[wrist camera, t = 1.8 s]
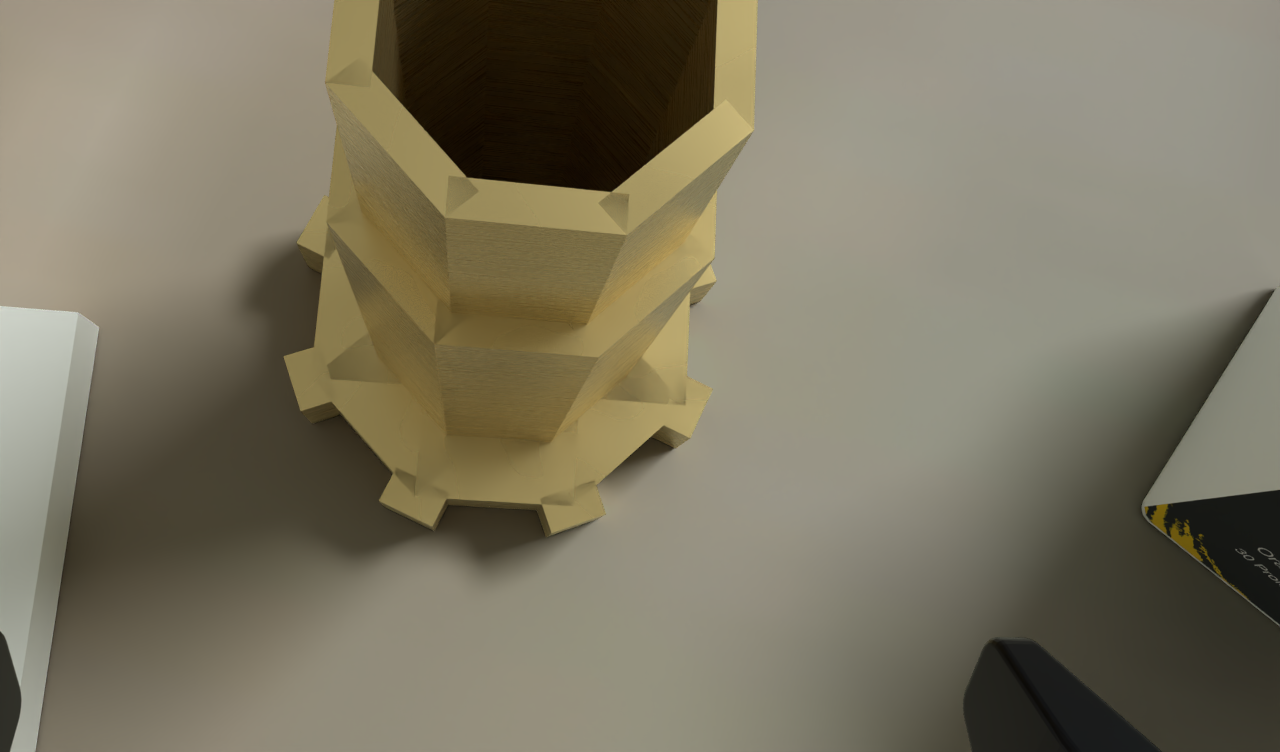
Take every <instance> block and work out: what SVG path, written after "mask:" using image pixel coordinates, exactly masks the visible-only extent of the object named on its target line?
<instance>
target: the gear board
mask: <svg viewBox="0 0 1280 752" xmlns="http://www.w3.org/2000/svg"><path fill="white" fill-rule="evenodd" d="M98 332H99V327H98V326H97V325H95V324H94V323H93V322H91V321H90V320H88V319H87V318H86V317H84V316H83V315H81V314H80V313H79V312H67V311H55V310H42V309H30V308H17V307H5V306H0V632H1V633H2V634H3V635H4V636H5V639H6V641H7V644H8V648H9V651H10V655H11V658H12V661H13V665H14V668H15V672H16V675H17V679H18V682H19V686H20V690H21V699H22V701H21V712H20V717H19V722H18V725H17V729H16V732H15V736H14V739H13V743H12V746H11V750H10V752H35V751H36V744H37V737H38V731H39V724H40V717H41V711H42V704H43V698H44V691H45V684H46V678H47V671H48V664H49V658H50V651H51V644H52V638H53V631H54V625H55V618H56V611H57V605H58V598H59V591H60V585H61V578H62V571H63V565H64V558H65V551H66V545H67V538H68V532H69V525H70V518H71V512H72V505H73V498H74V492H75V485H76V478H77V472H78V465H79V458H80V452H81V445H82V439H83V432H84V425H85V419H86V412H87V405H88V399H89V392H90V385H91V379H92V372H93V365H94V359H95V352H96V346H97V339H98Z"/></svg>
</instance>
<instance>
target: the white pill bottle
mask: <svg viewBox="0 0 1280 752" xmlns="http://www.w3.org/2000/svg"><path fill="white" fill-rule="evenodd" d="M1141 508H1142V513H1143V516H1144V517H1145V519H1146V520H1147V521H1148V522H1149V523H1150V524H1152V525H1153V526H1154V527H1155V528H1157V529H1158V530H1159V531H1160V532H1162V533H1163V534H1164V535H1165V536H1167V537H1168V538H1169V539H1170V540H1172V541H1173V542H1174V543H1176V544H1177V545H1178V546H1179V547H1181V548H1182V549H1183V550H1184V551H1186V552H1187V553H1188V554H1189V555H1191V556H1192V557H1193V558H1194V559H1196V560H1197V561H1198V562H1199V563H1201V564H1202V565H1203V566H1204V567H1206V568H1207V569H1208V570H1209V571H1211V572H1212V573H1213V574H1214V575H1216V576H1217V577H1218V578H1219V579H1221V580H1222V581H1223V582H1224V583H1226V584H1227V585H1228V586H1229V587H1231V588H1232V589H1233V590H1234V591H1236V592H1237V593H1238V594H1239V595H1241V596H1242V597H1243V598H1244V599H1246V600H1247V601H1248V602H1250V603H1251V604H1252V605H1253V606H1255V607H1256V608H1257V609H1258V610H1260V611H1261V612H1262V613H1263V614H1265V615H1266V616H1267V617H1268V618H1270V619H1271V620H1272V621H1273V622H1275V623H1276V624H1277V625H1278V626H1280V285H1279V286H1278V287H1277V288H1276V289H1275V291H1274V293H1273V294H1272V296H1271V297H1270V299H1269V301H1268V302H1267V304H1266V305H1265V307H1264V309H1263V310H1262V312H1261V313H1260V315H1259V317H1258V318H1257V320H1256V321H1255V323H1254V325H1253V326H1252V328H1251V329H1250V331H1249V333H1248V334H1247V336H1246V337H1245V339H1244V341H1243V342H1242V344H1241V345H1240V347H1239V349H1238V350H1237V352H1236V353H1235V355H1234V357H1233V358H1232V360H1231V361H1230V363H1229V365H1228V366H1227V368H1226V369H1225V371H1224V373H1223V374H1222V376H1221V377H1220V379H1219V381H1218V382H1217V384H1216V385H1215V387H1214V389H1213V390H1212V392H1211V393H1210V395H1209V397H1208V398H1207V400H1206V401H1205V403H1204V405H1203V406H1202V408H1201V409H1200V411H1199V413H1198V414H1197V416H1196V417H1195V419H1194V421H1193V422H1192V424H1191V425H1190V427H1189V429H1188V430H1187V432H1186V433H1185V435H1184V437H1183V438H1182V440H1181V441H1180V443H1179V445H1178V446H1177V448H1176V449H1175V451H1174V453H1173V454H1172V456H1171V457H1170V459H1169V460H1168V462H1167V464H1166V465H1165V467H1164V468H1163V470H1162V472H1161V473H1160V475H1159V476H1158V478H1157V480H1156V481H1155V483H1154V484H1153V486H1152V488H1151V489H1150V491H1149V492H1148V494H1147V496H1146V497H1145V499H1144V500H1143V504H1142V507H1141Z"/></svg>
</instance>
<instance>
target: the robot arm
mask: <svg viewBox="0 0 1280 752" xmlns="http://www.w3.org/2000/svg"><path fill="white" fill-rule="evenodd" d="M21 701H22V699H21V690H20V686H19V682H18V679H17V675H16V672H15V668H14V665H13V661H12V658H11V655H10V651H9V648H8V644H7V641H6V639H5V636H4V635H3V634H2V633H1V632H0V752H10V750H11V746H12V743H13V739H14V736H15V732H16V729H17V725H18V722H19V717H20V712H21ZM963 711H964V718H965V723H966V727H967V732H968V736H969V741H970V745H971V750H972V752H1162V751H1161V750H1160V749H1158V748H1157V747H1156V746H1155V745H1154V744H1153V743H1152V742H1150V741H1149V740H1148V739H1147V738H1146V737H1145V736H1144V735H1142V734H1141V733H1140V732H1139V731H1138V730H1137V729H1135V728H1134V727H1133V726H1132V725H1131V724H1130V723H1129V722H1127V721H1126V720H1125V719H1124V718H1123V717H1122V716H1121V715H1119V714H1118V713H1117V712H1116V711H1115V710H1114V709H1113V708H1111V707H1110V706H1109V705H1108V704H1107V703H1106V702H1104V701H1103V700H1102V699H1101V698H1100V697H1099V696H1098V695H1096V694H1095V693H1094V692H1093V691H1092V690H1091V689H1090V688H1088V687H1087V686H1086V685H1085V684H1084V683H1083V682H1082V681H1080V680H1079V679H1078V678H1077V677H1076V676H1075V675H1073V674H1072V673H1071V672H1070V671H1069V670H1068V669H1067V668H1065V667H1064V666H1063V665H1062V664H1061V663H1060V662H1059V661H1057V660H1056V659H1055V658H1054V657H1053V656H1052V655H1051V654H1049V653H1048V652H1047V651H1046V650H1045V649H1044V648H1042V647H1041V646H1040V645H1039V644H1038V643H1036V642H1035V641H1033V640H1031V639H1028V638H992V639H991V640H989V641H988V642H987V643H986V644H985V646H984V648H983V650H982V652H981V655H980V657H979V659H978V662H977V664H976V666H975V669H974V671H973V674H972V676H971V678H970V681H969V683H968V685H967V688H966V690H965V694H964V700H963Z"/></svg>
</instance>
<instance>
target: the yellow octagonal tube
mask: <svg viewBox="0 0 1280 752" xmlns="http://www.w3.org/2000/svg"><path fill="white" fill-rule="evenodd" d="M757 3H758V0H335V1H334V9H333V18H332V27H331V36H330V45H329V53H328V62H327V71H326V80H325V84H326V88H327V91H328V95H329V98H330V102H331V105H332V109H333V112H334V116H335V120H336V123H337V129H336V138H335V147H334V156H333V165H332V174H331V184H330V193H329V197H327V196H325V195H324V197H323V199H322V200H321V202H320V204H319V205H318V207H317V209H316V210H315V212H314V214H313V216H312V217H311V219H310V221H309V222H308V224H307V226H306V228H305V229H304V231H303V233H302V234H301V236H300V238H299V239H298V241H297V245H298V247H299V249H300V251H301V253H302V255H303V257H304V259H305V261H306V263H307V265H308V267H310V268H312V269H314V270H316V271H318V272H320V273H322V279H321V288H320V297H319V306H318V315H317V324H316V333H315V342H314V347H313V348H309V349H306V350H303V351H299V352H296V353H293V354H289V355H286V356H283V357H284V360H285V363H286V366H287V369H288V373H289V376H290V379H291V382H292V385H293V389H294V392H295V395H296V398H297V401H298V405H299V408H300V411H301V412H302V413H303V414H304V415H305V416H306V417H307V419H308V420H309V421H310V422H311V423H312V424H313V423H316V422H319V421H322V420H326V419H329V418H332V417H335V416H338V415H342V417H343V418H344V419H345V420H346V421H347V422H348V423H349V425H350V426H351V427H352V428H353V429H354V430H355V432H356V433H357V434H358V435H359V436H360V437H361V438H362V440H363V441H364V442H365V443H366V444H367V445H368V446H369V448H370V449H371V450H372V451H373V452H374V453H375V454H376V456H377V457H378V458H379V459H380V460H381V461H382V462H383V464H384V465H385V466H386V467H387V468H388V469H389V470H390V472H391V473H392V474H393V475H392V477H391V479H390V480H389V482H388V484H387V486H386V488H385V490H384V492H383V494H382V496H381V497H380V499H379V502H380V503H381V504H382V505H383V506H384V507H386V508H388V509H390V510H392V511H394V512H396V513H398V514H400V515H402V516H404V517H406V518H408V519H410V520H413V521H415V522H417V523H419V524H421V525H423V526H425V527H427V528H429V529H431V530H433V531H435V530H436V528H437V526H438V524H439V522H440V520H441V518H442V516H443V514H444V512H445V510H446V508H447V506H448V505H455V506H472V507H489V508H506V509H523V510H537V513H538V515H539V518H540V521H541V524H542V527H543V530H544V533H545V536H546V537H549V536H551V535H554V534H557V533H560V532H563V531H566V530H568V529H571V528H574V527H577V526H580V525H583V524H585V523H588V522H591V521H594V520H597V519H598V518H600V517H602V516H604V515H606V513H605V510H604V507H603V504H602V501H601V498H600V495H599V492H598V489H597V487H596V485H597V484H598V483H599V482H601V481H602V480H603V479H604V478H605V477H606V476H607V475H608V474H610V473H611V472H612V471H613V470H614V469H615V468H616V467H617V466H619V465H620V464H621V463H622V462H623V461H624V460H625V459H626V458H627V457H629V456H630V455H631V454H632V453H633V452H634V451H635V450H636V449H638V448H639V447H640V446H641V445H642V444H643V443H644V442H645V441H647V440H648V439H649V438H650V437H653V438H655V439H657V440H659V441H661V442H663V443H665V444H667V445H669V446H671V447H673V448H677V447H678V446H680V445H681V444H683V443H684V442H685V441H687V440H688V439H690V438H691V435H692V433H693V431H694V429H695V427H696V425H697V422H698V420H699V418H700V416H701V414H702V412H703V409H704V407H705V405H706V403H707V401H708V399H709V396H710V394H711V392H712V390H713V389H712V388H710V387H708V386H706V385H704V384H702V383H700V382H698V381H696V380H694V379H692V378H690V377H688V376H687V359H688V334H689V309H690V304H693V303H696V302H700V301H701V300H702V299H703V297H704V296H705V295H706V294H707V292H708V291H709V290H710V289H711V287H712V286H713V285H714V284H715V282H716V278H715V275H714V273H713V270H712V267H711V265H710V264H711V262H712V261H713V260H714V255H715V227H716V199H717V189H718V187H719V186H720V184H721V182H722V181H723V179H724V178H725V176H726V174H727V173H728V171H729V170H730V168H731V166H732V165H733V163H734V161H735V160H736V158H737V157H738V155H739V153H740V152H741V150H742V149H743V147H744V145H745V144H746V142H747V141H748V139H749V137H750V136H751V134H752V132H753V131H754V108H755V73H756V38H757Z"/></svg>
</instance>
